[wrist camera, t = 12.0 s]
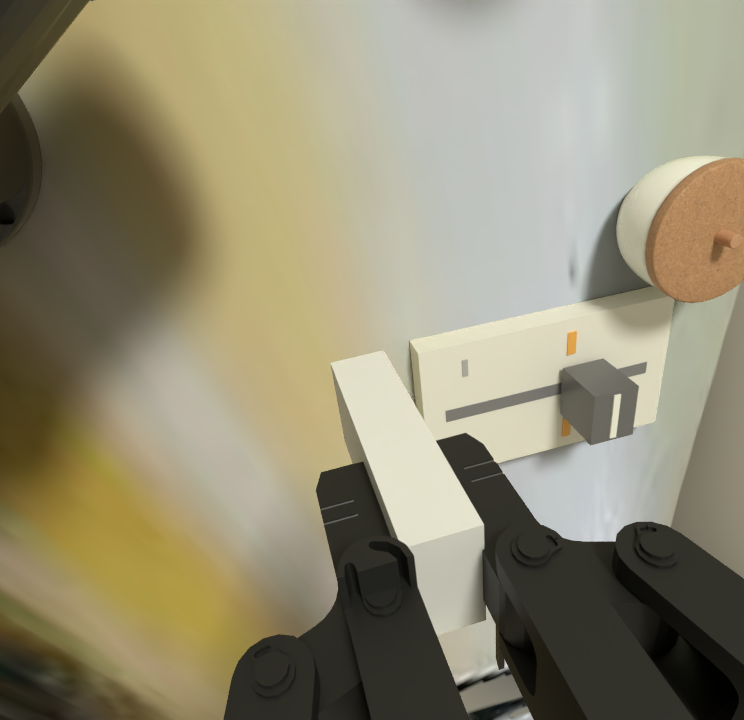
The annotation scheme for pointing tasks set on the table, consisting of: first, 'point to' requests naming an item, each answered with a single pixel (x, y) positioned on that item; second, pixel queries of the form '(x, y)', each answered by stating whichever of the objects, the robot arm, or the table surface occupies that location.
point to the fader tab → (598, 401)
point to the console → (537, 370)
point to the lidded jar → (686, 227)
